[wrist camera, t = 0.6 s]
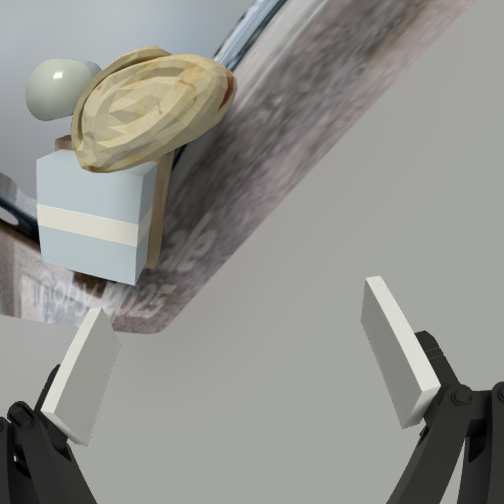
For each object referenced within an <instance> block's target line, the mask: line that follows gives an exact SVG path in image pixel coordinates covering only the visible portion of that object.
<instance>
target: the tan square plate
mask: <svg viewBox="0 0 504 504" xmlns="http://www.w3.org/2000/svg"><path fill="white" fill-rule="evenodd" d="M60 149H67V150H74V148H73V145H72V139H71V135H67V136H64V137H62V138H58V139H56V142H55V151H58V150H60ZM174 154H175V150H172V151H170V152H168V153H166V154H164V155H163V156H161V157H159V158H157V159H154V160H152V161H149V162H155V163H158V166H157V173H156V180H155V187H154V195H153V203H152V205H153V208H152V216H151V225H150V230H149V241H148V253H147V262H146V264H145V266H144V267H145V268H150V269H155V267H156V265H157V262H158V260H159V258H160V252H161V243H162V234H163V226H164V219H165V211H166V204H167V197H168V190H169V184H170V178H171V171H172V165H173V160H174Z"/></svg>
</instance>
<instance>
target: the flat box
mask: <svg viewBox="0 0 504 504" xmlns="http://www.w3.org/2000/svg"><path fill="white" fill-rule="evenodd" d="M157 166H158V163H155V162H146V163H144V164H141V165H138V166H136V167H133V168H131V169H127V170H122V171H117V172H111V173H92V172H90V171H87V170H85V169H83V168H81V167H80V165H79V162H78V160H77V157H76V154H75V151H74V150H67V149H60V150H58V151H55V152H53V153H51V154H49V155H47V156H44V157H42V158H40V159H38V160H37V218H38V225H39V235H40V245H41V253H42V261H43V262H44V263H48V264H51V265H55V266H59V267H62V268H66V269H70V270H73V271H77V272H81V273H85V274H89V275H93V276H97V277H101V278H105V279H109V280H113V281H117V282H121V283H125V284H130V285H134V286H135V284H136V282H137V280H138V278H139V276H140V274H141V272H142V270H143V268H144V266H145V264H146V262H147V253H148V241H149V230H150V225H151V216H152V208H153V205H152V203H153V195H154V187H155V180H156V173H157Z"/></svg>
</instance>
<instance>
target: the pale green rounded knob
mask: <svg viewBox="0 0 504 504" xmlns="http://www.w3.org/2000/svg"><path fill="white" fill-rule="evenodd" d="M100 71H102V70H101V68H100V67H99V66H98V65H97V64H95V63H92V62H89V61H79V60H67V59H50V60H47V61H45V62H43V63H41V64H40V65H39V66H38V67H37V68H36V69H35V70H34V71H33V73H32V74H31V76H30V78H29V81H28V84H27V88H26V102H27V106H28V108H29V111H30V112H31V114H32V115H33V116H34V117H36V118H37V119H39V120H42V121H50V120H54V119H58V118H62V117H66V116H70V115H73V113H74V110H75V108H76V105H77V103H78V100H79V97H80V96H81V94H82V93H83V91H84V90H85V89H86V87H87V86H88V84H89V83H90V81H91V80H92V79H93V77H94V76H96V75H97V74H98V73H99V72H100Z"/></svg>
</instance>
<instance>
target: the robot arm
mask: <svg viewBox="0 0 504 504" xmlns="http://www.w3.org/2000/svg"><path fill="white" fill-rule="evenodd" d="M361 323H362V325H363V327H364V330H365V332H366V335H367V337H368V340H369V342H370V344H371V347H372V349H373V352H374V354H375V357H376V359H377V362H378V364H379V367H380V369H381V372H382V375H383V377H384V380H385V382H386V385H387V388H388V390H389V393H390V396H391V398H392V401H393V404H394V407H395V410H396V412H397V415H398V418H399V421H400V424H401V426H402V429H404V428H407V427H410V426H414V425H417V424H419V423H420V421H421V420H422V418H423V417H424V420H425V422H426V426H425V427H424V428H423V430H422V431H421V433H420V436H421V437H420V439H419V441H418V443H417V446H416V448H415V450H414V452H413V454H412V456H411V458H410V461H409V463H408V465H407V467H406V469H405V471H404V473H403V474H402V477H401V478H400V480H399V482H398V484H397V486H396V488H395V490H394V491H393V493H392V495H391V496H390V498H389V500H388V502H387V503H386V504H439V503H440V501H441V499H442V497H443V495H444V492H445V490H446V488H447V486H448V483H449V480H450V478H451V476H452V473H453V471H454V468H455V466H456V463H457V460H458V457H459V455H460V452H461V449H462V446H463V443H464V439H465V450H464V460H463V468H462V476H461V483H460V489H459V495H458V501H457V504H504V382H499V383H497V384H496V385H495V386H494V387H493V389H492V390H486V391H472V390H471V389H470V388H469V387H467V386H465V385H462V384H460V382H459V381H458V379H457V377H456V376H455V374H454V372H453V370H452V368H451V367H450V364H449V363H448V361H447V359H446V357H445V356H444V355H443V352H442V351H441V349H440V348H439V345H438V343H437V342H436V340H435V338H434V337H433V336H432V335H430V334H429V333H428V332H426V331H421V332H417V333H413V331H412V329H411V327H410V325H409V324H408V322H407V320H406V318H405V317H404V315H403V313H402V312H401V310H400V308H399V306H398V305H397V303H396V302H395V300H394V298H393V296H392V295H391V293H390V291H389V290H388V288H387V286H386V285H385V283H384V281H383V280H382V278H381V277H380V276H376V277H369V278H366V279H365V288H364V298H363V307H362V314H361ZM120 347H121V343H120V341H119V340H118V338H117V336H116V334H115V332H114V330H113V328H112V326H111V324H110V322H109V321H108V319H107V317H106V315H105V313H104V311H103V308H102V307H101V308H90V310H89V312H88V313H87V315H86V317H85V319H84V321H83V323H82V324H81V326H80V328H79V330H78V332H77V334H76V336H75V338H74V340H73V342H72V344H71V346H70V348H69V350H68V352H67V354H66V356H65V358H64V360H63V362H62V364H61V365H59V364H58V365H57V366H56V367H55V368H54V369H53V370H52V372H51V373H50V375H49V377H48V380H47V382H46V384H45V386H44V389H43V390H42V392H41V395H40V397H39V399H38V401H37V404H36V406H35V409H34V411H33V410H32V409H31V408H30V407H29V406H28V405H27V404H26V403H25V402H23V401H18V402H15V403H14V404H13V405H12V406H11V407H10V408H9V410H8V413H7V419H8V420H10V421H11V422H12V423H9V422H8V421H7V420H6V419H5V418H4V417H0V504H97V503H96V501H95V499H94V497H93V495H92V493H91V491H90V489H89V487H88V485H87V483H86V481H85V479H84V477H83V475H82V473H81V471H80V469H79V466H78V464H77V462H76V460H75V458H74V455H73V453H72V450H71V448H70V446H69V445H68V443H67V439H68V438H69V439H70V440H71V441H73V442H74V443H75V444H79V445H84V446H88V444H89V441H90V437H91V433H92V430H93V427H94V424H95V420H96V417H97V414H98V411H99V407H100V404H101V401H102V398H103V395H104V392H105V389H106V386H107V383H108V380H109V378H110V375H111V372H112V369H113V366H114V363H115V360H116V358H117V355H118V352H119V350H120ZM14 456H16V462H15V461H14Z"/></svg>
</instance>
